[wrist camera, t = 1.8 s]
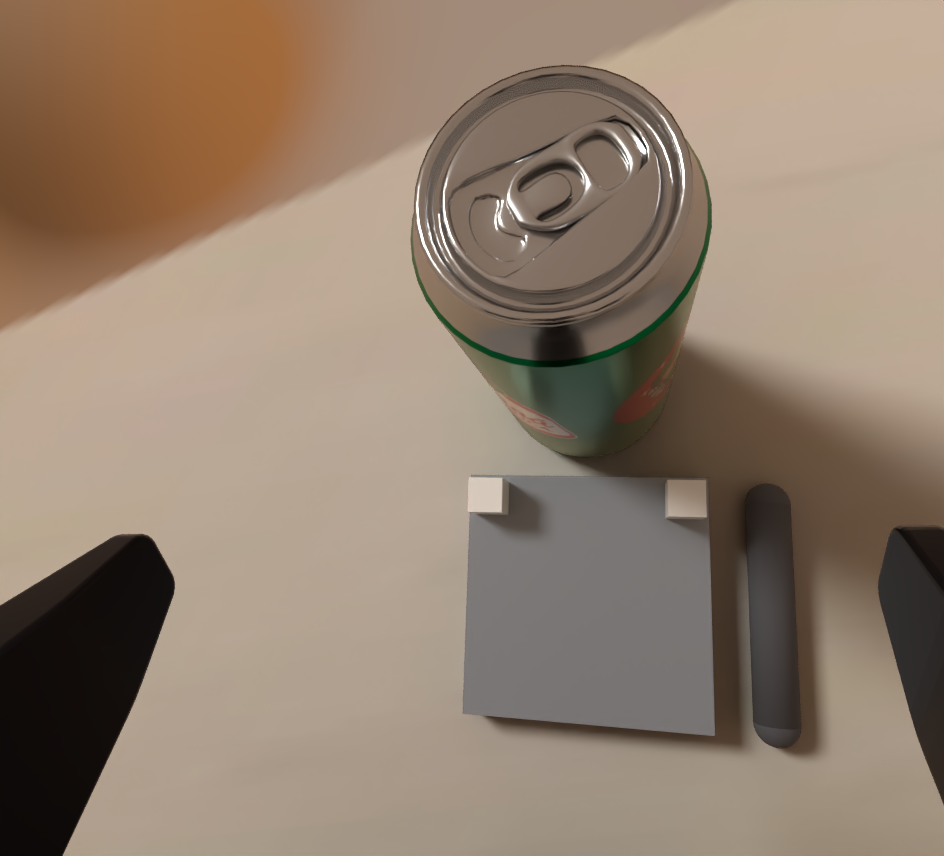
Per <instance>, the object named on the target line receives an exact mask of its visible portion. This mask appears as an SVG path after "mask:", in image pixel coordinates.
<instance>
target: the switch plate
mask: <svg viewBox="0 0 944 856" xmlns="http://www.w3.org/2000/svg"><path fill="white" fill-rule="evenodd" d="M468 512H470V521H469V549H468V577H467V605H466V633H465V661H464V689H463V714H472V715H484V716H495V717H506V718H517V719H529V720H540V721H551V722H562V723H574V724H585V725H596V726H607V727H618V728H630V729H641V730H652V731H663V732H675V733H686V734H697V735H708V736H715V720H714V682H713V644H712V606H711V569H710V531H709V493H708V478H680V477H591V476H503V475H471V477H469V486H468Z"/></svg>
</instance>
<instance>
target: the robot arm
mask: <svg viewBox="0 0 944 856" xmlns="http://www.w3.org/2000/svg"><path fill="white" fill-rule="evenodd" d="M174 590H175V581H174V577H173V575H172V573H171V571H170V569H169V567H168V565H167V564H166V562H165V560H164V558H163V556H162V554H161V553H160V551H159V549H158V547H157V545H156V544H155V542H154V541H153V539H152V538H150V537H149V536H148V535H144V534H121V535H117V536H114V537H112V538H110V539H109V540H107V541H105V542H104V543H102V544H100V545H99V546H97V547H96V548H94V549H92V550H91V551H89V552H87V553H86V554H84V555H82V556H81V557H79V558H77V559H76V560H74V561H73V562H71V563H69V564H68V565H66V566H64V567H63V568H61V569H59V570H58V571H56V572H54V573H53V574H51V575H50V576H48V577H46V578H45V579H43V580H41V581H40V582H38V583H36V584H35V585H33V586H31V587H30V588H28V589H27V590H25V591H23V592H22V593H20V594H18V595H17V596H15V597H13V598H12V599H10V600H8V601H7V602H5V603H4V604H2V605H0V856H63V854H64V851H65V849H66V847H67V845H68V843H69V841H70V839H71V837H72V834H73V832H74V830H75V828H76V826H77V824H78V822H79V820H80V817H81V815H82V813H83V811H84V809H85V807H86V805H87V803H88V800H89V798H90V796H91V794H92V792H93V790H94V788H95V786H96V783H97V781H98V779H99V777H100V775H101V773H102V771H103V769H104V766H105V764H106V762H107V760H108V758H109V756H110V754H111V752H112V749H113V747H114V745H115V743H116V741H117V739H118V737H119V735H120V732H121V730H122V728H123V726H124V724H125V722H126V720H127V718H128V715H129V713H130V711H131V709H132V706H133V704H134V702H135V700H136V697H137V694H138V692H139V689H140V687H141V684H142V681H143V679H144V676H145V673H146V670H147V668H148V665H149V662H150V659H151V656H152V654H153V651H154V648H155V645H156V643H157V640H158V637H159V634H160V631H161V629H162V626H163V623H164V620H165V618H166V615H167V612H168V609H169V606H170V604H171V601H172V598H173V595H174ZM878 591H879V599H880V603H881V607H882V611H883V614H884V618H885V622H886V626H887V629H888V633H889V637H890V640H891V644H892V648H893V651H894V655H895V659H896V662H897V666H898V670H899V673H900V677H901V681H902V685H903V688H904V692H905V696H906V699H907V703H908V707H909V710H910V714H911V717H912V721H913V724H914V727H915V731H916V734H917V737H918V740H919V743H920V745H921V748H922V751H923V753H924V756H925V759H926V761H927V764H928V766H929V769H930V771H931V774H932V776H933V779H934V781H935V784H936V786H937V789H938V791H939V794H940V796H941V799H942V801H943V804H944V529H943V528H941V527H939V526H934V525H902V526H898V527H896V528H894V529H893V530H892V532H891V534H890V536H889V540H888V544H887V548H886V552H885V556H884V560H883V564H882V568H881V572H880V576H879V583H878Z"/></svg>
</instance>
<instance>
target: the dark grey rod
mask: <svg viewBox="0 0 944 856" xmlns="http://www.w3.org/2000/svg"><path fill="white" fill-rule="evenodd" d="M745 509H746V536H747V564H748V591H749V619H750V647H751V674H752V702H753V723H754V728H755V731H756V732H757V734H758V736H759V737H760V738H761V739H762V740H763V741H764V742H765V743H767V744H768V745H770V746H773V747H776V748H786V747H789V746H791V745H793V744H794V743H795V742H796V741H797V740H798V738H799V736H800V733H801V715H800V694H799V673H798V652H797V631H796V611H795V590H794V569H793V548H792V528H791V507H790V500H789V497H788V495H787V494H786V492H785V491H784V490H783V489H781V488H780V487H778V486H776V485H773V484H761V485H758V486H756V487H754V488H753V489H752V490H751V491H750V492H749V493H748V495H747V497H746V502H745Z"/></svg>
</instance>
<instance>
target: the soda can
mask: <svg viewBox="0 0 944 856" xmlns="http://www.w3.org/2000/svg"><path fill="white" fill-rule="evenodd" d="M711 228H712V203H711V198H710V193H709V187H708V182H707V179H706V176H705V174H704V171H703V169H702V166H701V163H700V161H699V159H698V157H697V156H696V154H695V153H694V151H693V149H692V148H691V146H690V144H689V143H688V141H687V140H686V139H685V138H684V135H683V133H682V131H681V129H680V127H679V126H678V124H677V122H676V121H675V119H674V117H673V116H672V114H671V113H670V112H669V111H668V110H667V109H666V107H665V106H664V105H663V104H662V103H661V102H660V101H659V100H658V99H657V98H656V97H655V96H654V95H652V94H651V93H650V92H648V91H647V90H646V89H645V88H643V87H642V86H640V85H638V84H637V83H635V82H633V81H631V80H629V79H628V78H626V77H624V76H621V75H618V74H615V73H612V72H610V71H607V70H603V69H598V68H593V67H587V66H574V65H560V66H549V67H541V68H536V69H532V70H528V71H524V72H520V73H518V74H515V75H512V76H510V77H507V78H505V79H502V80H500V81H498V82H496V83H494V84H493V85H491V86H489V87H488V88H486V89H484V90H482V91H481V92H479V93H478V94H476V95H475V96H474V97H472V98H471V99H470V100H468V101H467V102H466V103H464V104H463V105H462V106H461V107H460V108H459V109H458V110H457V111H456V112H455V113H454V114H453V115H452V116H451V117H450V118H449V120H448V121H447V122H446V123H445V125H444V126H443V127H442V128H441V129H440V131H439V132H438V133H437V135H436V137H435V138H434V140H433V142H432V144H431V145H430V147H429V149H428V150H427V153H426V155H425V158H424V160H423V163H422V165H421V167H420V171H419V175H418V179H417V183H416V187H415V199H414V214H413V218H412V228H411V251H412V262H413V265H414V269H415V273H416V277H417V281H418V283H419V286H420V288H421V290H422V292H423V294H424V297H425V299H426V301H427V302H428V304H429V305H430V307H431V308H432V310H433V311H434V313H435V314H436V316H437V317H438V319H439V320H440V321H441V323H442V324H443V325H444V326H445V328H446V329H447V330H448V332H449V333H450V334H451V336H452V337H453V338H454V339H455V341H456V342H457V343H458V345H459V346H460V347H461V348H462V350H463V351H464V352H465V354H466V355H467V356H468V357H469V359H470V360H471V361H472V363H473V364H474V365H475V366H476V368H477V369H478V370H479V372H480V373H481V374H482V376H483V377H484V378H485V379H486V381H487V382H488V383H489V385H490V386H491V387H492V388H493V390H494V391H495V392H496V394H497V395H498V396H499V397H500V399H501V400H502V401H503V403H504V404H505V405H506V406H507V408H508V409H509V410H510V412H511V413H512V414H513V416H514V417H515V418H516V419H517V421H518V422H519V423H520V425H521V426H522V427H523V428H524V429H525V430H526V431H527V432H528V434H529V435H530V436H531V437H533V438H534V439H535V440H537V441H538V442H539V443H540V444H542V445H544V446H546V447H548V448H549V449H551V450H554V451H556V452H559V453H562V454H566V455H571V456H577V457H594V456H602V455H606V454H610V453H613V452H616V451H618V450H621V449H623V448H625V447H627V446H629V445H630V444H632V443H633V442H635V441H636V440H638V439H639V438H640V437H641V436H642V435H644V434H645V433H646V432H647V431H648V430H649V429H650V427H651V426H652V425H653V424H654V422H655V421H656V420H657V418H658V416H659V415H660V413H661V411H662V409H663V407H664V404H665V401H666V398H667V395H668V392H669V388H670V385H671V381H672V377H673V374H674V370H675V366H676V363H677V359H678V356H679V352H680V348H681V345H682V341H683V338H684V334H685V330H686V327H687V323H688V320H689V316H690V312H691V309H692V305H693V301H694V298H695V294H696V291H697V287H698V283H699V280H700V276H701V273H702V269H703V265H704V262H705V258H706V254H707V251H708V245H709V240H710V234H711Z"/></svg>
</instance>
